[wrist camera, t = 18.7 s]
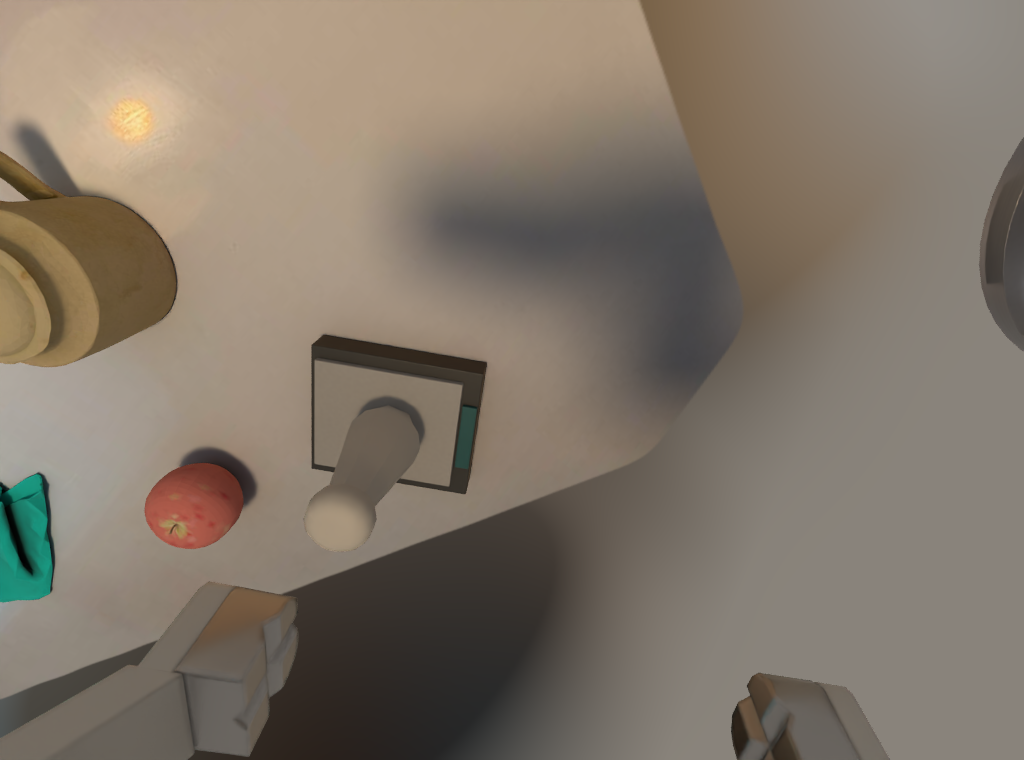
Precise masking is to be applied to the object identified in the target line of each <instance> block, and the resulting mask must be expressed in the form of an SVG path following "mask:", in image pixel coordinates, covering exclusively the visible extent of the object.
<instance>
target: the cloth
mask: <svg viewBox="0 0 1024 760" xmlns="http://www.w3.org/2000/svg"><path fill="white" fill-rule="evenodd" d="M1 492H2V488H1V487H0V602H9V601H15V600H36V599H40V598H42V597H44V596H46V595H48V594H50V587H51V579H52V571H53V565H52V558H51V551H50V544H49V539H48V534H47V522H48V517H47V510H46V503H45V496H44V489H43V482H42V476H40V475H39V474H35V475H33V476H31V477H28V478H26V479H24V480H23V481H22V482H20V483H19V484H17V485H16V486H14V487H13V488H11V489H10V490H8V491H7V492H5V493H3V494H2V495H1Z"/></svg>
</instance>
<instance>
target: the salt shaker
mask: <svg viewBox="0 0 1024 760" xmlns="http://www.w3.org/2000/svg"><path fill="white" fill-rule="evenodd" d="M419 450H420V443H419V435H418V432H417V430H416V428H415V427H414V425H413V423H412V421H411V418H410V415H409V414H408V413H406V412H403V411H401V410H399V409H396V408H394V407H392V406H389V405H387V406H384V407H380V408H375V409H371V410H366V411H364V412H363V413H362V414H361V415H359V416H358V417H357V418H355V419H354V420H353V421H352V422H351V425H350V428H349V430H348V433H347V436H346V439H345V442H344V445H343V448H342V451H341V454H340V457H339V459H338V462H337V465H336V468H335V471H334V474H333V477H332V479H331V482H330V485H329V486H326V487H325V488H323V489H322V490H321V491H319V492H318V493H316V494H315V495H314V496H313V498H312V499H311V500H310V502H309V505H308V508H307V510H306V513H305V516H304V519H303V520H304V524H305V529H306V532H307V533H308V534H309V536H310V537H311V538H312V539H313V541H314V542H315V543H316V544H318V545H320V546H321V547H323V548H325V549H327V550H332V551H337V552H344V551H351V550H355V549H357V548H358V547H359V546H361V545H362V544H364V543H365V542H366V540H367V539H368V538H369V536H370V534H371V532H372V530H373V528H374V525H375V522H376V512H375V506H376V505H377V503H378V502H379V501H380V500H381V499H382V498H383V497H384V496H385V494H386V493H387V492H388V491H389V490H390V489H391V488H392V486H393V485H394V484H395V483H396V482H397V481H398V480H399V479H400V477H401V476H402V475H403V474H404V473H405V472H406V471H407V469H408V468H409V467H410V466H411V465H412V464H413V463H414V461H415V459H416V457H417V455H418V453H419Z"/></svg>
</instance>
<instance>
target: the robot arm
mask: <svg viewBox="0 0 1024 760" xmlns="http://www.w3.org/2000/svg"><path fill="white" fill-rule="evenodd" d="M297 613H298V607H297V598H294V597H290V596H285V595H280V594H275V593H269V592H264V591H259V590H254V589H249V588H244V587H238V586H232V585H227V584H221V583H215V582H210V581H209V582H208V583H206V584H205V585H203V586H202V587H201V588H199V589H198V590H197V592H196V593H195V594H194V596H193V597H192V598H191V599H190V601H189V602H188V603H187V604H186V606H185V607H184V608H183V609H182V611H181V612H180V613H179V615H178V616H177V617H176V618H175V620H174V621H173V622H172V623H171V625H170V626H169V627H168V628H167V630H166V631H165V632H164V634H163V635H162V636H161V637H160V639H159V640H158V641H157V642H156V644H155V645H154V646H153V648H152V649H151V650H150V652H149V653H148V654H147V655H146V656H145V658H144V659H143V660H142V661H141V663H140V664H139V665H138V666H132V665H127V666H126V667H124V668H122V669H120V670H119V671H117V672H115V673H113V674H112V675H110V676H108V677H106V678H105V679H103V680H101V681H100V682H98V683H96V684H94V685H93V686H91V687H89V688H87V689H86V690H84V691H82V692H80V693H79V694H77V695H75V696H73V697H72V698H70V699H68V700H66V701H65V702H63V703H61V704H59V705H58V706H56V707H54V708H52V709H51V710H49V711H47V712H45V713H44V714H42V715H40V716H38V717H37V718H35V719H33V720H32V721H30V722H28V723H27V724H25V725H23V726H21V727H19V728H18V729H16V730H14V731H12V732H11V733H9V734H7V735H5V736H4V737H2V738H0V760H187V759H188V758H189V757H191V756H192V755H193V754H194V750H203V751H210V752H218V753H226V754H234V755H241V756H249V755H250V753H251V751H252V749H253V747H254V745H255V743H256V741H257V739H258V737H259V735H260V733H261V731H262V729H263V726H264V725H265V723H266V720H267V719H268V716H269V698H270V697H271V696H272V695H274V694H275V693H276V692H278V691H279V690H280V689H282V688H283V685H284V683H285V681H286V679H287V677H288V675H289V673H290V670H291V667H292V664H293V660H294V658H295V655H296V651H297V644H298V629H297V628H296V627H295V626H294V624H293V623H292V622H293V620H294V618H295V616H296V614H297ZM747 687H748V690H749V693H750V696H749V697H747V698H745V699H744V700H741V701H739V702H738V704H737V706H736V708H735V711H734V712H733V715H732V727H731V733H732V740H733V747H734V750H735V754H736V757H737V760H890V759H889V757H888V755H887V754H886V752H885V750H884V748H883V747H882V745H881V743H880V741H879V739H878V738H877V736H876V734H875V732H874V731H873V729H872V727H871V725H870V724H869V722H868V720H867V718H866V716H865V715H864V713H863V711H862V709H861V708H860V706H859V704H858V702H857V701H856V699H855V697H854V696H853V694H852V693H851V692H850V691H849V690H848V689H847V688H846V687H842V686H837V685H830V684H824V683H818V682H812V681H810V680H803V679H797V678H790V677H783V676H776V675H770V674H762V673H758V674H756V675H754V676H752V677H751V679H750V681H749V683H748V685H747Z"/></svg>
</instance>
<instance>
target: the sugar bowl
mask: <svg viewBox="0 0 1024 760" xmlns="http://www.w3.org/2000/svg"><path fill="white" fill-rule="evenodd" d="M0 178H2V179H3V180H5V181H6V182H7V183H9V184H10V185H11V186H13V187H14V188H15V189H16V190H17V191H18V192H20V193H21V194H22V195H24V196H25V197H26V198H28V199H29V200H31V201H22V202H5V201H0V363H4V364H16V363H19V362H22V363H25V364H29V365H34V366H40V367H57V366H63V365H67V364H69V363H72V362H75V361H78V360H80V359H82V358H85V357H87V356H89V355H92V354H94V353H96V352H99V351H101V350H103V349H106V348H108V347H110V346H112V345H114V344H116V343H118V342H120V341H122V340H124V339H126V338H128V337H130V336H132V335H134V334H136V333H138V332H140V331H142V330H144V329H146V328H148V327H150V326H152V325H154V324H156V323H157V322H158V321H160V320H161V319H162V318H163V317H164V316H165V315H166V314H167V313H168V311H169V310H170V308H171V306H172V304H173V300H174V297H175V293H176V276H175V271H174V267H173V264H172V261H171V258H170V255H169V253H168V251H167V250H166V248H165V246H164V244H163V242H162V241H161V239H160V238H159V237H158V235H157V234H156V233H155V232H154V230H153V229H152V228H151V227H150V226H149V225H148V224H147V223H146V222H145V221H144V220H143V219H141V218H140V217H139V216H138V215H136V214H135V213H134V212H132V211H131V210H129V209H128V208H126V207H124V206H122V205H120V204H118V203H115V202H113V201H111V200H107V199H104V198H99V197H91V196H78V197H66V196H64V195H63V194H61V193H60V192H58V191H56V190H54V189H52V188H50V187H49V186H47V185H46V184H45V183H43V182H42V181H41V180H39V179H38V178H37V177H35V176H34V175H33V174H32V173H31V172H29V171H28V170H27V169H25V168H24V167H23V166H21V165H20V164H19V163H17V162H16V161H15V160H13V159H12V158H10V157H9V156H7V155H6V154H4V153H2V152H1V151H0Z"/></svg>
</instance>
